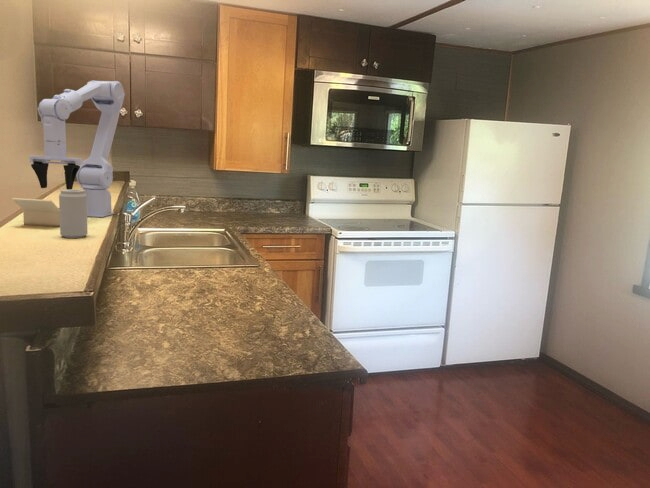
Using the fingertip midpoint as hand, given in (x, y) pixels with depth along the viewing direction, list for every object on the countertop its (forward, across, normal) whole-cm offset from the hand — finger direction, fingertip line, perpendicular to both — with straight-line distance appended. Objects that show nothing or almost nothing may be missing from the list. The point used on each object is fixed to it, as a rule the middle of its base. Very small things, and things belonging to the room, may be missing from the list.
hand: (56, 188), depth 160 cm
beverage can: (+10, +15, -21) cm, 28 cm away
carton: (+10, 0, -5) cm, 11 cm away
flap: (+4, 0, -10) cm, 11 cm away
